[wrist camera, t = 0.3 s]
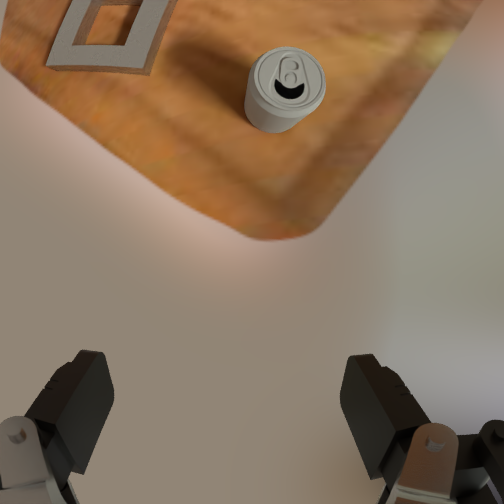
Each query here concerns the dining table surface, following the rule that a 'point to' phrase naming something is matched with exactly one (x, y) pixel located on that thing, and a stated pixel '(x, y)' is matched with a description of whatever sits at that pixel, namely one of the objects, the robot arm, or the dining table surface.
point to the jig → (110, 56)
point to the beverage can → (283, 89)
